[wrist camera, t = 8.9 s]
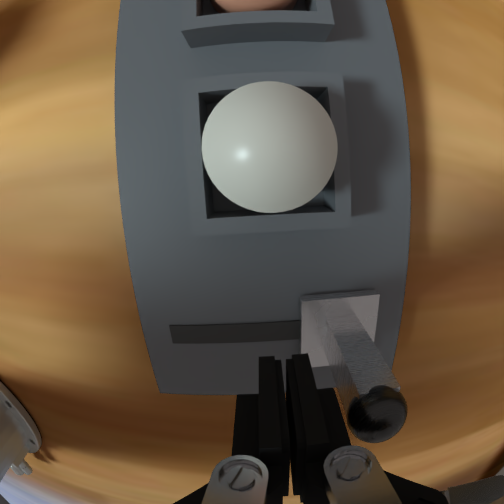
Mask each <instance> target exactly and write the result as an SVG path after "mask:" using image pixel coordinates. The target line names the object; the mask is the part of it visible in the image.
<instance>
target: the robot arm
mask: <svg viewBox="0 0 504 504" xmlns="http://www.w3.org/2000/svg"><path fill="white" fill-rule="evenodd" d="M41 444H42V440H41V436H40V433H39V431H38V429H37V427H36V425H35V423H34V422H33V420H32V418H31V417H30V416H29V414H28V413H27V411H26V410H25V409H24V407H23V406H22V405H21V404H20V402H19V401H18V400H17V399H16V398H15V396H14V395H13V394H12V393H11V392H10V391H9V390H8V389H7V388H6V387H5V386H4V385H3V384H2V383H1V382H0V482H1V480H2V479H3V477H4V475H5V474H6V472H7V471H8V469H9V468H11V469H12V470H13V471H14V472H15V473H16V474H17V475H23V474H24V473H25V474H27V475H29V474H31V473H32V471H33V470H32V468H31V467H30V466H29V464H28V463H27V462H26V461H25V460H24V458H25V456H26V455H27V453H35V452H37V451H38V449H39V448H40V446H41ZM290 463H291V474H292V485H293V494H294V495H300V501H301V503H302V502H303V504H504V476H503V475H498V476H493V477H490V478H486V479H483V480H479V481H475V482H471V483H467V484H463V485H459V486H454V487H449V488H447V490H446V491H438V490H436V489H433V488H430V487H427V486H424V485H421V484H418V483H415V482H412V481H410V480H407V479H404V478H402V477H399V476H396V475H394V474H391V473H389V472H386V471H384V470H383V469H382V467H381V466H380V464H379V462H378V460H377V459H376V457H375V456H374V454H373V453H372V452H371V451H369V450H367V449H366V448H363V447H360V446H351V443H350V439H349V436H348V433H347V429H346V426H345V423H344V420H343V416H342V413H341V410H340V407H339V403H338V400H337V397H336V394H335V391H334V389H333V388H324V389H317V387H316V383H315V379H314V375H313V371H312V367H311V363H310V359H309V355H308V353H305V354H293V355H292V359H286V399H285V390H284V381H283V372H282V363H281V360H275V356H262V357H259V394H238V395H237V400H236V412H235V423H234V435H233V446H232V456H231V457H228V458H226V459H224V460H222V461H221V462H219V463H218V464H217V465H216V467H215V468H214V470H213V472H212V475H211V478H210V481H209V483H208V484H206V485H204V486H203V487H201V488H199V489H198V490H196V491H194V492H193V493H191V494H189V495H188V496H186V497H184V498H182V499H181V500H179V501H177V502H175V503H173V504H283V496H288V492H289V470H290Z"/></svg>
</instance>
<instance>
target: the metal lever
mask: <svg viewBox="0 0 504 504" xmlns="http://www.w3.org/2000/svg"><path fill="white" fill-rule="evenodd" d="M379 297H380V294H379V293H378V292H377V291H376V290H375V289H374V290H363V291H353V292H341V293H330V294H317V295H304V296H300V348H299V354H305V353H308V355H309V359H310V363H311V367H321V366H330V369H331V372H332V375H333V378H334V381H335V384H336V387H337V389H338V392H339V395H340V398H341V401H342V404H343V407H344V410H345V413H346V416H347V424H348V427H349V429H350V431H351V432H352V434H353V435H354V436H355V437H357V438H358V439H360V440H362V441H364V442H368V443H379V442H383V441H386V440H388V439H390V438H392V437H393V436H394V435H396V434H397V433H398V432H399V431H400V429H401V428H402V426H403V425H404V423H405V420H406V417H407V404H406V401H405V398H404V397H403V395H402V394H401V393H400V392H399V391H400V385H399V383H398V381H397V380H396V378H395V376H394V375H393V373H392V372H391V370H390V368H389V367H388V365H387V363H386V362H385V360H384V358H383V357H382V355H381V354H380V352H379V350H378V349H377V347H376V346H375V344H374V339H375V331H376V324H377V315H378V307H379Z"/></svg>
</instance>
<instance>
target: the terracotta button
mask: <svg viewBox="0 0 504 504" xmlns="http://www.w3.org/2000/svg"><path fill="white" fill-rule="evenodd" d="M210 2H211V4H212V6H213V7H214V8H215V10H216V11H217V12H218V13H220V14H221V13H231V12H245V11H269V10H292V9H293V7H294V6H295V4H296V2H297V0H210Z"/></svg>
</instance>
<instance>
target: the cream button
mask: <svg viewBox="0 0 504 504" xmlns="http://www.w3.org/2000/svg"><path fill="white" fill-rule="evenodd" d="M337 153H338V144H337V136H336V132H335V128H334V125H333V123H332V121H331V119H330V117H329V115H328V113H327V112H326V110H325V109H324V108H323V106H322V105H321V104H320V103H319V102H318V101H317V100H316V99H315V98H314V97H312V96H311V95H310V94H308V93H307V92H305V91H303V90H302V89H300V88H298V87H295V86H293V85H290V84H286V83H282V82H275V81H263V82H255V83H251V84H247V85H245V86H242V87H240V88H238V89H236V90H234V91H232V92H231V93H229V94H228V95H227V96H225V97H224V98H223V99H222V100H221V101H220V102H219V103H218V104H217V105H216V107H215V108H214V109H213V111H212V112H211V114H210V115H209V117H208V120H207V122H206V124H205V127H204V131H203V136H202V156H203V161H204V165H205V168H206V171H207V173H208V175H209V177H210V179H211V180H212V182H213V184H214V185H215V186H216V187H217V189H218V190H219V191H220V192H221V193H222V194H223V195H224V196H225V197H227V198H228V199H229V200H231V201H232V202H234V203H236V204H237V205H239V206H241V207H244V208H246V209H249V210H253V211H256V212H263V213H277V212H284V211H288V210H292V209H295V208H297V207H300V206H302V205H304V204H305V203H307V202H309V201H310V200H311V199H313V198H314V197H315V196H316V195H317V194H318V193H319V192H321V190H322V189H323V188H324V187H325V185H326V184H327V182H328V181H329V179H330V177H331V175H332V173H333V170H334V168H335V164H336V160H337Z"/></svg>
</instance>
